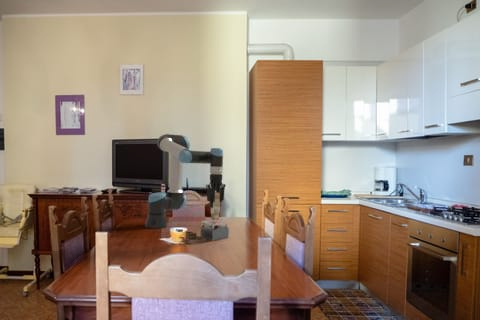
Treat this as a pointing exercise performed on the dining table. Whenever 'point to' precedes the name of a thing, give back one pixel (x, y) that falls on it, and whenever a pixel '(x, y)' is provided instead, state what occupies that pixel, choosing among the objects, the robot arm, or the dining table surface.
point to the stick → (216, 207)
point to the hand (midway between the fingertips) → (215, 212)
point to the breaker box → (214, 230)
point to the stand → (190, 234)
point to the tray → (194, 239)
